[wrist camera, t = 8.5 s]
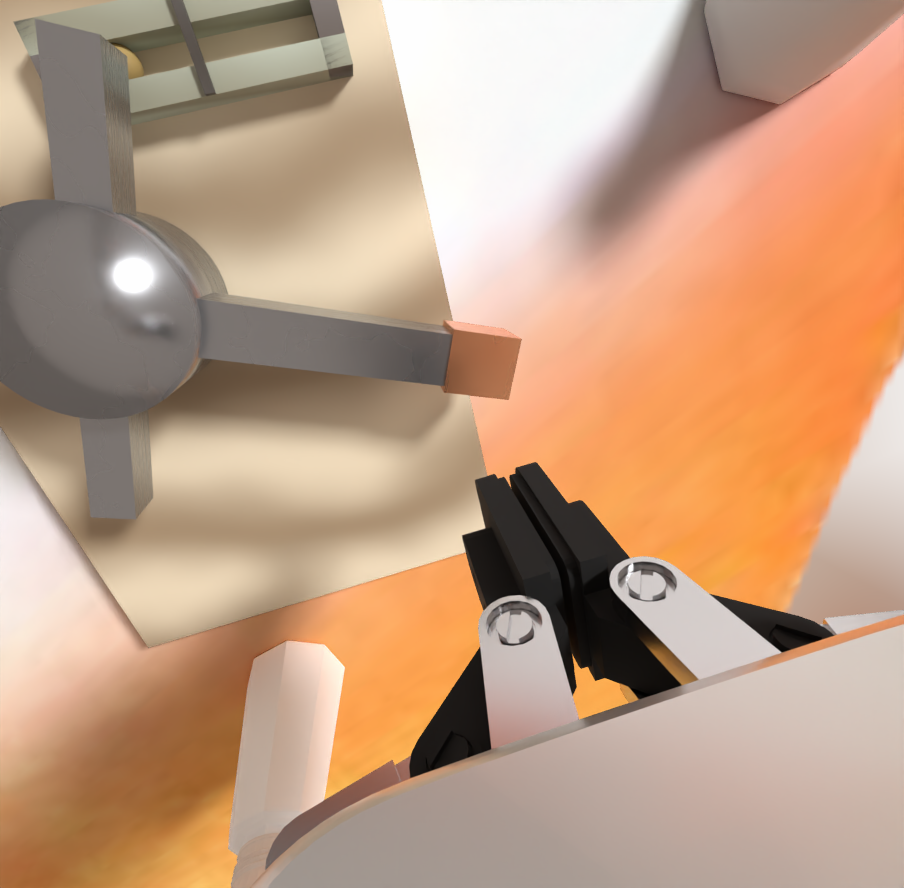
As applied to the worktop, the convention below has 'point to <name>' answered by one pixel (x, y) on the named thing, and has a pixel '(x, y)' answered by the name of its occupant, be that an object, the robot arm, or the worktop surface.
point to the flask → (790, 41)
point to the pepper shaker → (282, 748)
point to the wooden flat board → (269, 278)
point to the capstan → (164, 295)
